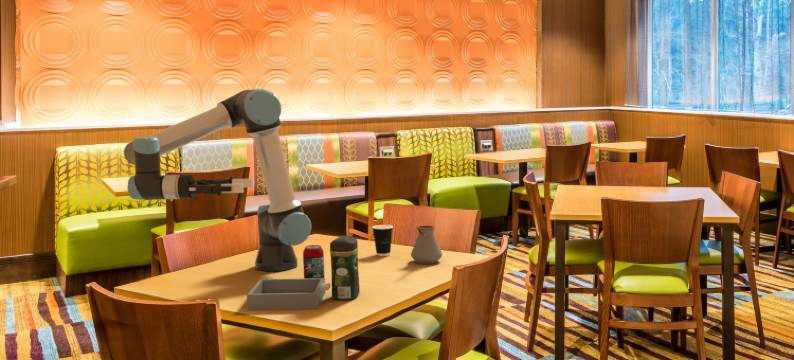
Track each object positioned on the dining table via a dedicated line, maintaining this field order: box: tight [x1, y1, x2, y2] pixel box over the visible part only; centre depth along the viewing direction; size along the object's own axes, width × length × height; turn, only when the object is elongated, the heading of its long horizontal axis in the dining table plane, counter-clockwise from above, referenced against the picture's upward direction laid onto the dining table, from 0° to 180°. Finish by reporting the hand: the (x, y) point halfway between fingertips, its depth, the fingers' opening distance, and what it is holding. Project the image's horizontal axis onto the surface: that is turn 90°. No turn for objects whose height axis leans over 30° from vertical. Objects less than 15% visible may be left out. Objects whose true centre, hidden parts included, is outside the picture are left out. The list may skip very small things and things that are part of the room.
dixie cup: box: [371, 224, 394, 257], centre depth 288 cm, size 8×8×11 cm
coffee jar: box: [329, 235, 360, 301], centre depth 228 cm, size 10×8×19 cm
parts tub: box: [246, 277, 331, 311], centre depth 226 cm, size 18×23×4 cm
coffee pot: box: [410, 225, 443, 265], centre depth 269 cm, size 21×12×15 cm, turn 168°
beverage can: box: [302, 244, 325, 279], centre depth 247 cm, size 7×7×12 cm
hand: (248, 185), depth 233 cm, fingers open, 13 cm apart
